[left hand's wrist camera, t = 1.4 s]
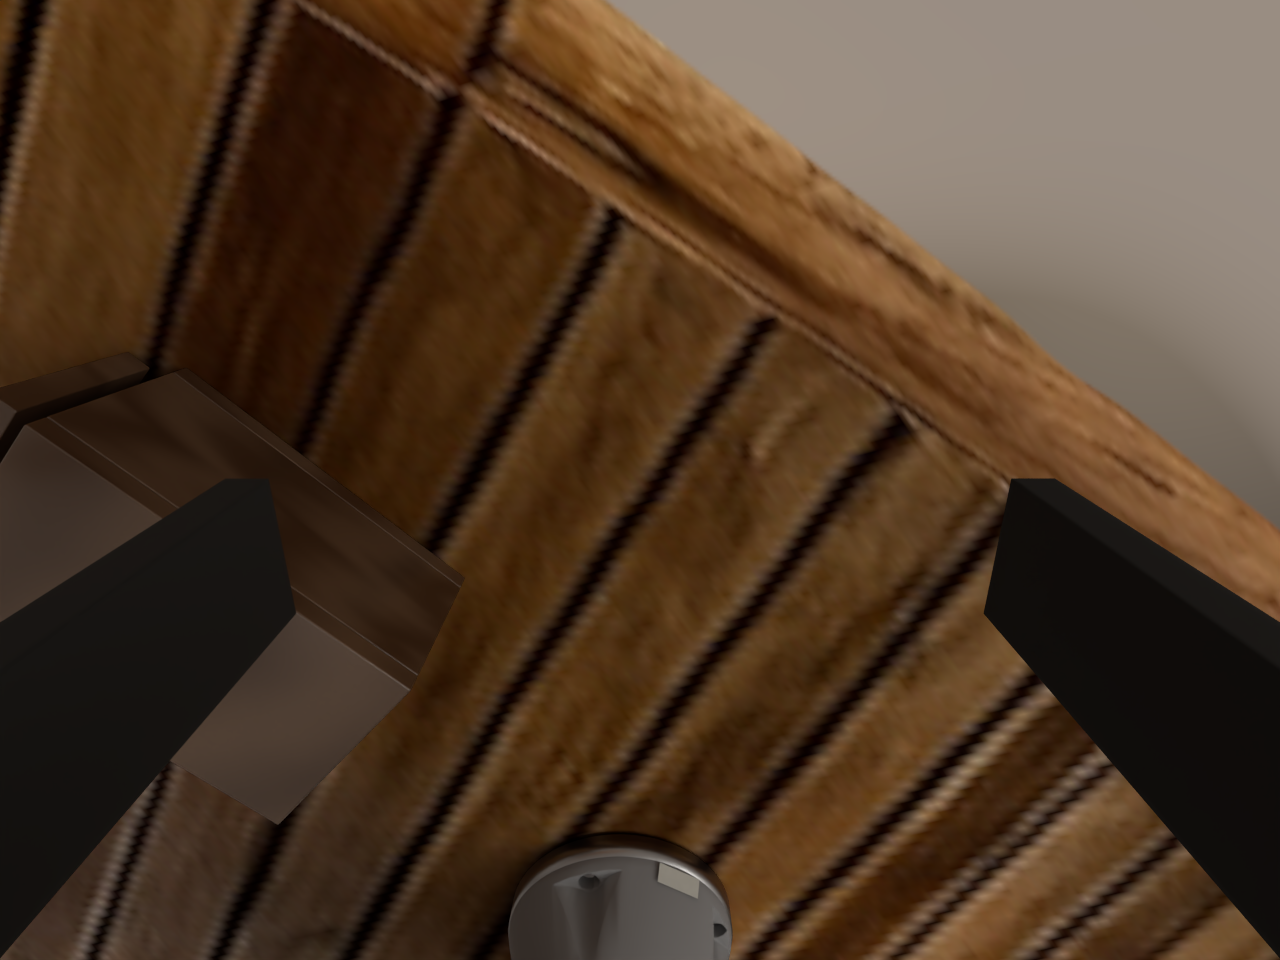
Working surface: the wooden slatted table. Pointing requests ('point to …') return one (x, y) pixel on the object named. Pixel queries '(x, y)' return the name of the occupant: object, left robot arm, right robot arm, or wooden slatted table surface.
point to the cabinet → (314, 553)
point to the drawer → (64, 392)
